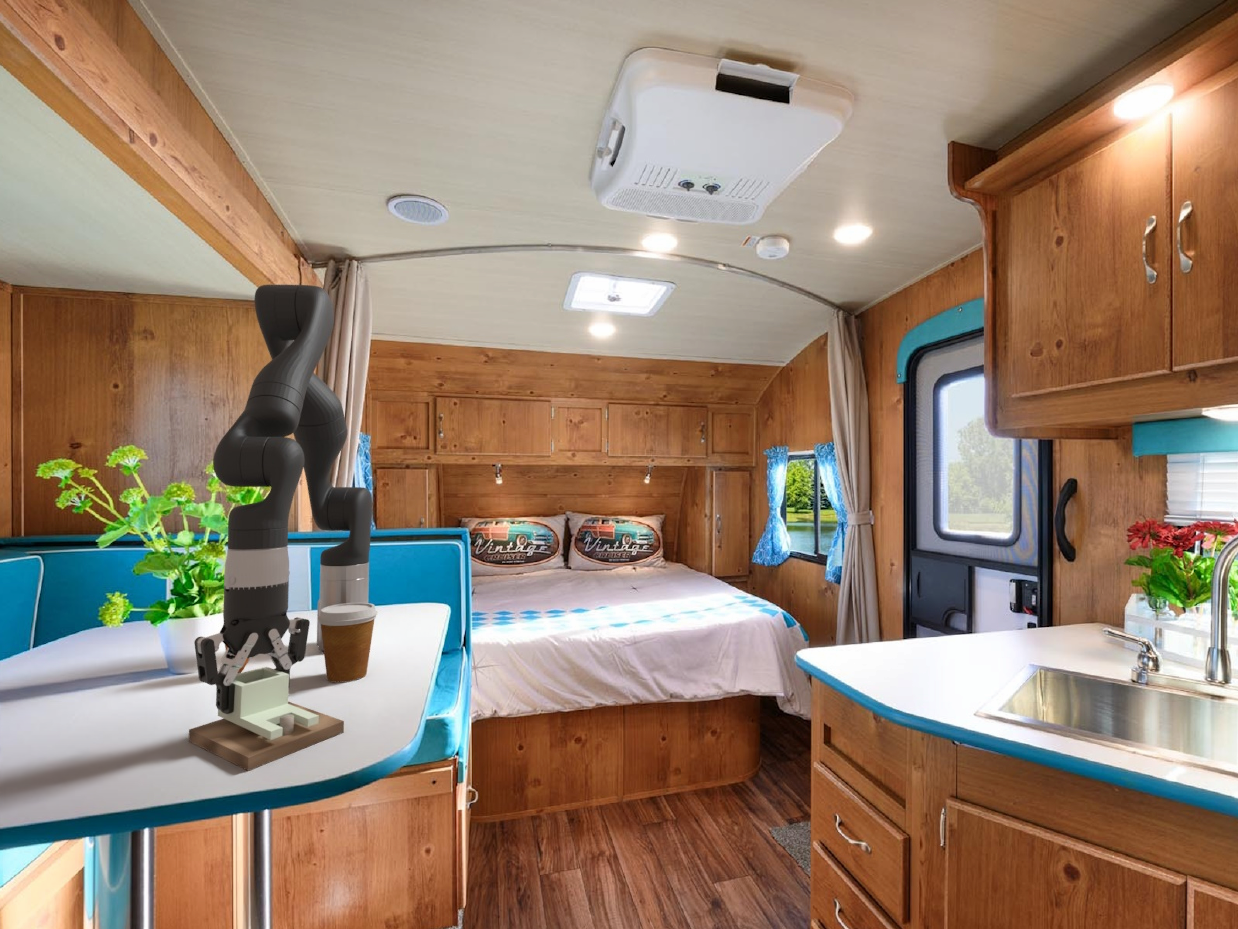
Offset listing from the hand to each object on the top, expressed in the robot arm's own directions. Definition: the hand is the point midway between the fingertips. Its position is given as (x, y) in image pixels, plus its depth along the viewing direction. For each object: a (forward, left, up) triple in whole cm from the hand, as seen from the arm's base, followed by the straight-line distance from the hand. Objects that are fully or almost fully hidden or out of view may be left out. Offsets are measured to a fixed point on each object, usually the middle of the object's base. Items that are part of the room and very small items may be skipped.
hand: (253, 703), depth 77 cm
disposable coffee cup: (-10, +20, -4) cm, 23 cm away
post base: (+3, 0, -4) cm, 5 cm away
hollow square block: (+4, 0, -1) cm, 4 cm away
